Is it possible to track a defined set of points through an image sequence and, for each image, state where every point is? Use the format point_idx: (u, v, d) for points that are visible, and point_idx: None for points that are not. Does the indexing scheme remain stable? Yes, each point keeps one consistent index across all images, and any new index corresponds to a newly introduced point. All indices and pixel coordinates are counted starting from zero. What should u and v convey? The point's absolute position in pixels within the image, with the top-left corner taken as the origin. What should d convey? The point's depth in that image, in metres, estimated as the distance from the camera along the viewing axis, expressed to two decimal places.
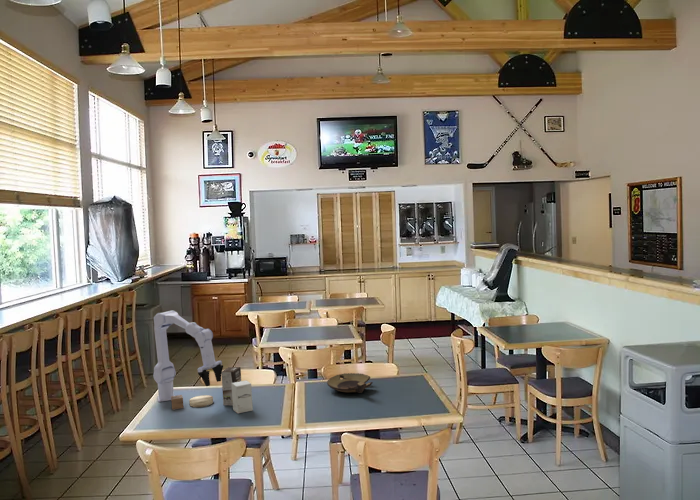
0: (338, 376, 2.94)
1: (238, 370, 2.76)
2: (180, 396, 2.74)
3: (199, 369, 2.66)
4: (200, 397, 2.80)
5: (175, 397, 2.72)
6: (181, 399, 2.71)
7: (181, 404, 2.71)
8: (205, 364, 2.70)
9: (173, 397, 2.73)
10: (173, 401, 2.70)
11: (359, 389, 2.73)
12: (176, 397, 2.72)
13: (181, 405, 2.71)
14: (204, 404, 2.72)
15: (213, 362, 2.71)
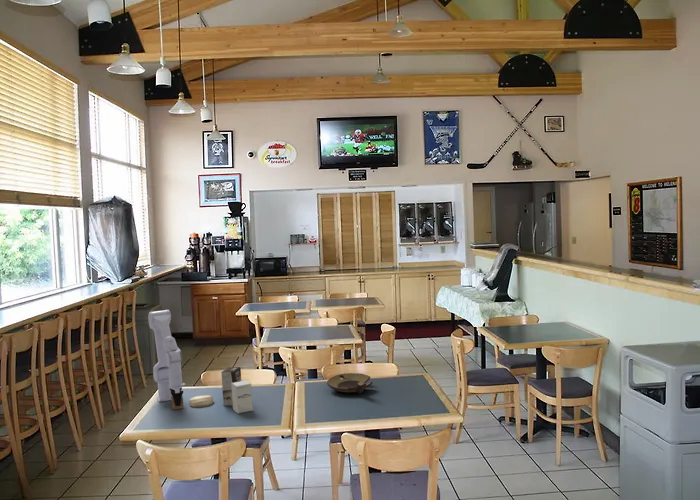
0: (338, 376, 2.94)
1: (238, 370, 2.76)
2: None
3: (178, 390, 2.66)
4: (200, 397, 2.80)
5: None
6: (181, 399, 2.71)
7: (181, 404, 2.71)
8: (176, 385, 2.70)
9: None
10: (173, 401, 2.70)
11: (359, 389, 2.73)
12: None
13: (181, 405, 2.71)
14: (204, 404, 2.72)
15: None
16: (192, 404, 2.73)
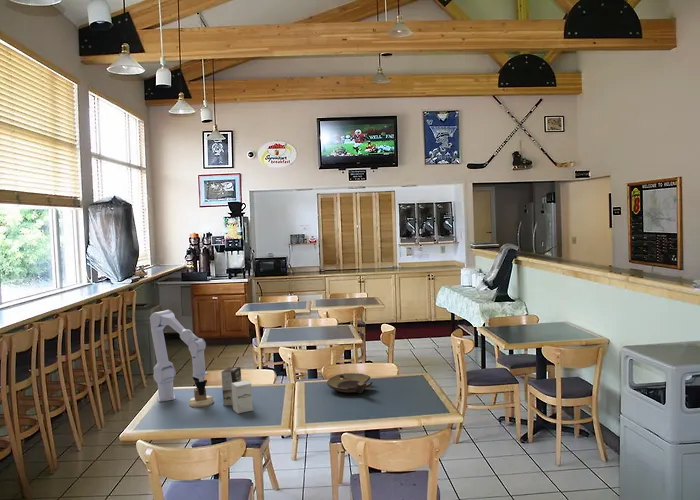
0: (338, 376, 2.94)
1: (238, 370, 2.76)
2: None
3: (201, 378, 2.70)
4: None
5: None
6: None
7: (204, 396, 2.75)
8: (200, 373, 2.74)
9: (196, 389, 2.76)
10: (196, 393, 2.74)
11: (359, 389, 2.73)
12: None
13: (204, 397, 2.75)
14: (204, 404, 2.72)
15: None
16: (192, 404, 2.73)
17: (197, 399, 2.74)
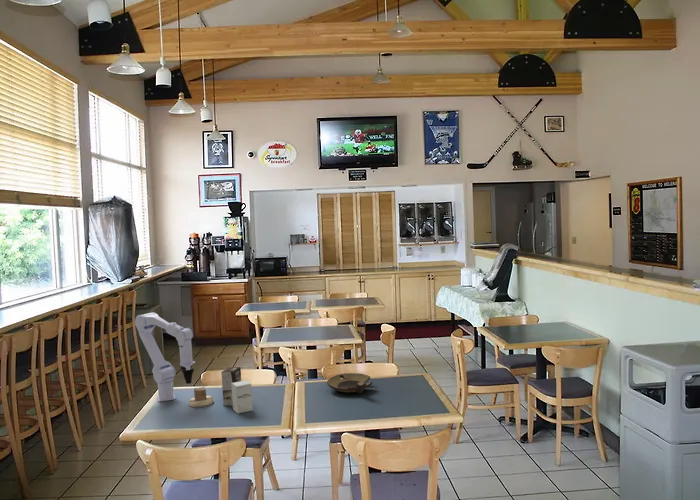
0: (338, 376, 2.94)
1: (238, 370, 2.76)
2: (203, 388, 2.77)
3: (188, 367, 2.73)
4: None
5: (198, 389, 2.76)
6: (204, 391, 2.75)
7: (204, 396, 2.75)
8: (187, 362, 2.77)
9: (196, 389, 2.76)
10: (196, 393, 2.74)
11: (359, 389, 2.73)
12: (199, 389, 2.76)
13: (204, 397, 2.75)
14: (204, 404, 2.72)
15: (192, 360, 2.81)
16: (192, 404, 2.73)
17: (197, 399, 2.74)
